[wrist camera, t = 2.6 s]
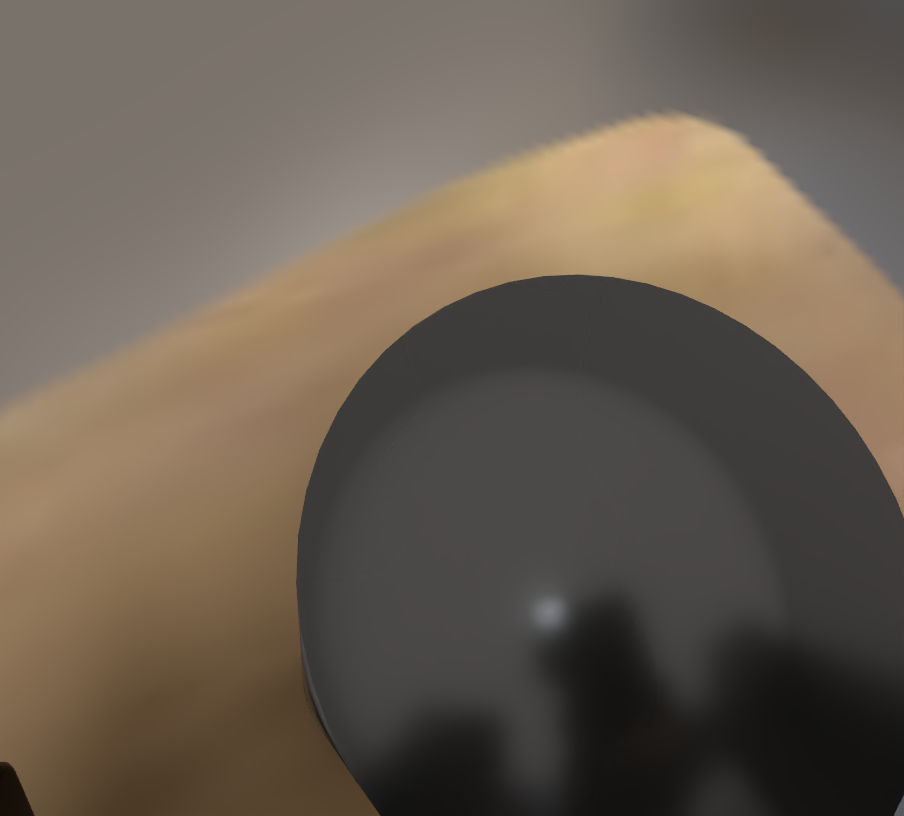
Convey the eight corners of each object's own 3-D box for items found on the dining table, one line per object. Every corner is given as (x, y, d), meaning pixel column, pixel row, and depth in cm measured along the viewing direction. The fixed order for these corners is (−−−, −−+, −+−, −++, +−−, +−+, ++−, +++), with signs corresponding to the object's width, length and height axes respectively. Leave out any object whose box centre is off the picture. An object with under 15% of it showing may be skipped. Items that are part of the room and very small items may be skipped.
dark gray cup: (430, 792, 14) (881, 1108, 3) (270, 714, 14) (147, 746, 3) (496, 625, 16) (962, 430, 5) (351, 554, 16) (467, 187, 5)
